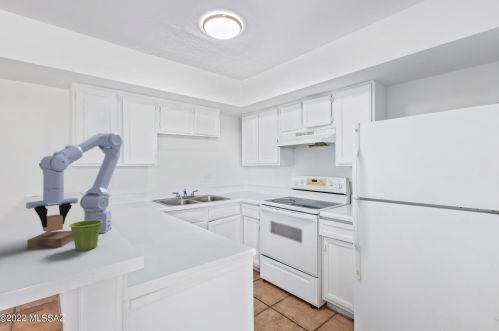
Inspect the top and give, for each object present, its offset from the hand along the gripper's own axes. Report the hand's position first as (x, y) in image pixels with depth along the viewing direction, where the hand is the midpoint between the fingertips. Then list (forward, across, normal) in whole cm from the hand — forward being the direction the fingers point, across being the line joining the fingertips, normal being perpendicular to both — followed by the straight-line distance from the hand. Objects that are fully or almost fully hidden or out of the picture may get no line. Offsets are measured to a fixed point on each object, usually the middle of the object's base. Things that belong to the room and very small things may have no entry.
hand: (53, 225), depth 85 cm
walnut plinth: (+6, 0, 0) cm, 6 cm away
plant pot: (+7, -4, +16) cm, 17 cm away
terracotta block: (+2, 0, 0) cm, 2 cm away
